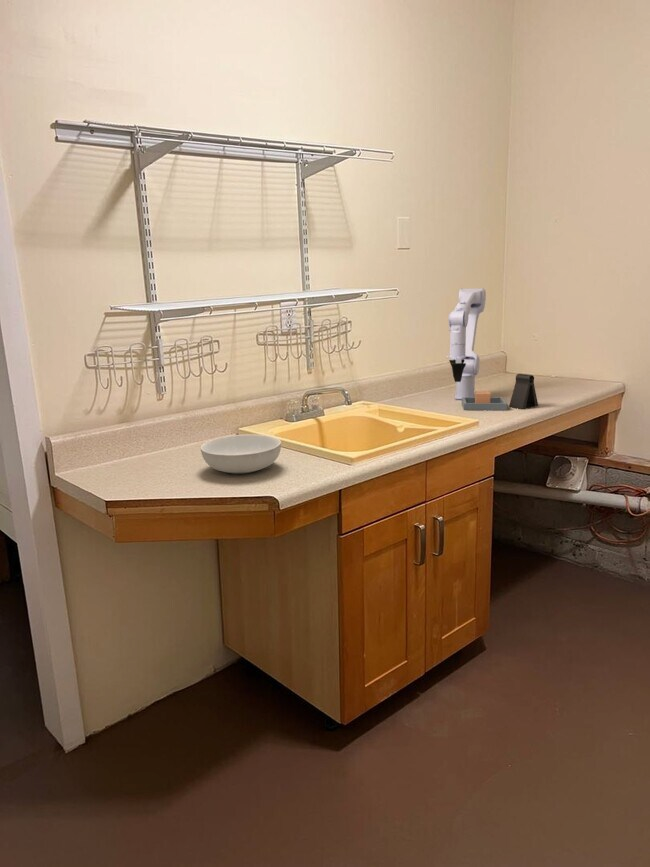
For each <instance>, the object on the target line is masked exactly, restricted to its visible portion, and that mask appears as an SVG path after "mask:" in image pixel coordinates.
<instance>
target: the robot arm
mask: <svg viewBox="0 0 650 867" xmlns="http://www.w3.org/2000/svg"><path fill="white" fill-rule="evenodd" d="M458 292H459V293H458V303H457V304H456V305H455V307H454V310H452V311H451V312H449V313H448V320H447V321H448V329H449V330H448V331H449V355H446V358H447V359H449V360H448V361H449V364H450V366H451V371H452V372H451V373H452V377H453V380H454V383H455V394H454V395H453V396H454V399H455V400H462V397H475V388H476V387H475V383H476V382H475V378H476V376H477V375H478V374H479V373H480V357H479V354H477V353H476V352H474V350H475V344H476V343H475V342H476V337H477V336H476V334H477V327H478V321H479V316H480V314H481V313H483V312H484V310H485V307H486V298H487V297H486V296H487V294H486V293H487V292H486V289H485V288H484V287H483V288H460V289H459V291H458Z"/></svg>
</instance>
